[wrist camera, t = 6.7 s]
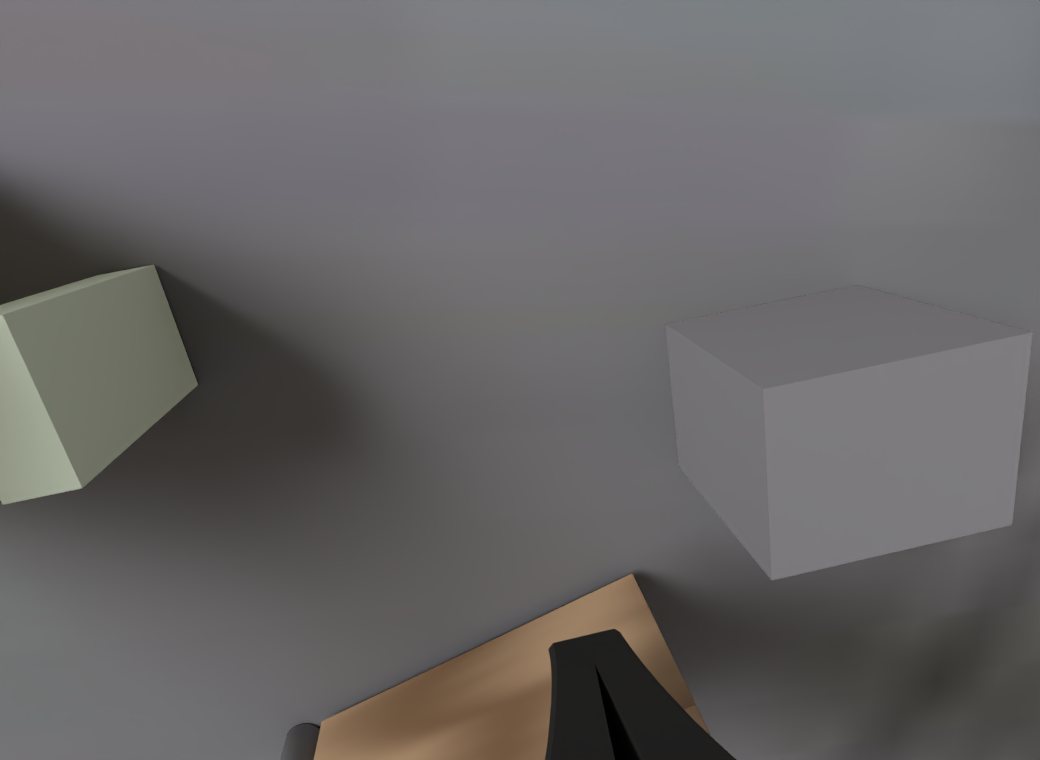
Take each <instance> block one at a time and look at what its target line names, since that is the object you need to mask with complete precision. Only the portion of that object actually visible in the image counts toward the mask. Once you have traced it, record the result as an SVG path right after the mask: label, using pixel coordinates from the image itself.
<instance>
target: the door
mask: <svg viewBox="0 0 1040 760" xmlns="http://www.w3.org/2000/svg"><path fill="white" fill-rule="evenodd" d="M610 629H616V630H618V631H619V632H621V634H622V636H623V637H624V639H625V640H626V641H627V643H628V644H629V646H630V647H631V648H632V650H633V651H634V652H635V654H636V655H637V656H638V658H639V659H640V660H641V661H642V663H643V664H644V665H645V666H646V667H647V669H648V670H649V671H650V672H651V674H652V675H653V676H654V677H655V678H656V679H657V681H658V682H659V683H660V684H661V685H662V686H663V687H664V689H665V690H666V691H667V692H668V693H669V694H670V695H671V696H672V697H673V698H674V699H675V700H676V701H677V703H678V704H679V705H680V706H681V707H682V708H683V709H684V710H685V711H686V712H687V713H688V714H689V715H690V716H691V717H692V718H693V719H694V720H695V721H696V722H697V723H698V724H699V725H700V726H701V727H702V728H703V729H704V730H705V731H706V732H707V733H708V734H709V735H710V733H709V731H708V729H707V727H706V725H705V723H704V721H703V719H702V716H701V714H700V712H699V710H698V708H697V706H696V704H695V702H694V700H693V698H692V696H691V694H690V692H689V690H688V688H687V685H686V683H685V681H684V679H683V677H682V675H681V673H680V671H679V669H678V667H677V665H676V663H675V661H674V659H673V657H672V654H671V652H670V650H669V648H668V646H667V644H666V642H665V640H664V638H663V636H662V634H661V632H660V630H659V628H658V625H657V623H656V621H655V619H654V617H653V615H652V613H651V611H650V609H649V607H648V605H647V603H646V601H645V599H644V597H643V595H642V592H641V590H640V588H639V586H638V584H637V582H636V580H635V578H634V576H633V574H630V575H628V576H626V577H623V578H621V579H619V580H617V581H615V582H613V583H611V584H609V585H607V586H605V587H602V588H600V589H598V590H596V591H594V592H592V593H590V594H588V595H586V596H584V597H581V598H579V599H577V600H575V601H573V602H571V603H569V604H567V605H565V606H563V607H561V608H558V609H556V610H554V611H552V612H550V613H548V614H546V615H544V616H542V617H540V618H537V619H535V620H533V621H531V622H529V623H527V624H525V625H523V626H521V627H519V628H516V629H514V630H512V631H510V632H508V633H506V634H504V635H502V636H500V637H498V638H496V639H493V640H491V641H489V642H487V643H485V644H483V645H481V646H479V647H477V648H475V649H472V650H470V651H468V652H466V653H464V654H462V655H460V656H458V657H456V658H454V659H451V660H449V661H447V662H445V663H443V664H441V665H439V666H437V667H435V668H433V669H431V670H428V671H426V672H424V673H422V674H420V675H418V676H416V677H414V678H412V679H410V680H407V681H405V682H403V683H401V684H399V685H397V686H395V687H393V688H391V689H389V690H386V691H384V692H382V693H380V694H378V695H376V696H374V697H372V698H370V699H368V700H365V701H363V702H361V703H359V704H357V705H355V706H353V707H351V708H349V709H347V710H345V711H342V712H340V713H338V714H336V715H334V716H332V717H330V718H328V719H326V720H324V721H322V722H321V727H320V732H319V737H318V741H317V746H316V751H315V756H314V760H545V756H546V749H547V742H548V732H549V721H550V710H551V687H552V678H551V662H550V655H549V650H548V649H549V648H550V646H551V645H552V644H553V643H555V642H559V641H563V640H568V639H572V638H576V637H580V636H585V635H589V634H593V633H597V632H601V631H606V630H610ZM710 736H711V735H710Z"/></svg>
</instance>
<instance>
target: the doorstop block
mask: <svg viewBox="0 0 1040 760" xmlns="http://www.w3.org/2000/svg"><path fill="white" fill-rule="evenodd" d="M665 329H666V339H667V350H668V360H669V370H670V381H671V391H672V401H673V412H674V422H675V432H676V443H677V453H678V463H679V468H680V469H681V470H682V472H683V473H684V474H685V475H686V476H687V478H688V479H689V480H690V481H691V483H692V484H693V485H694V486H695V487H696V489H697V490H698V491H699V492H700V494H701V495H702V496H703V497H704V498H705V500H706V501H707V502H708V503H709V505H710V506H711V507H712V508H713V509H714V511H715V512H716V513H717V514H718V516H719V517H720V518H721V519H722V520H723V522H724V523H725V524H726V525H727V527H728V528H729V529H730V530H731V531H732V533H733V534H734V535H735V536H736V538H737V539H738V540H739V541H740V542H741V544H742V545H743V546H744V547H745V549H746V550H747V551H748V552H749V553H750V555H751V556H752V557H753V558H754V560H755V561H756V562H757V563H758V564H759V566H760V567H761V568H762V569H763V571H764V572H765V573H766V574H767V575H768V577H769V578H770V579H771V580H777V579H781V578H785V577H790V576H794V575H798V574H802V573H807V572H811V571H815V570H820V569H824V568H828V567H833V566H837V565H841V564H846V563H850V562H854V561H859V560H863V559H867V558H872V557H876V556H880V555H885V554H889V553H893V552H897V551H902V550H906V549H910V548H915V547H919V546H923V545H928V544H932V543H936V542H941V541H945V540H949V539H954V538H958V537H962V536H967V535H971V534H975V533H980V532H984V531H988V530H992V529H997V528H1001V527H1005V526H1010V525H1012V522H1013V513H1014V503H1015V494H1016V484H1017V475H1018V465H1019V456H1020V446H1021V437H1022V428H1023V418H1024V409H1025V399H1026V390H1027V380H1028V371H1029V361H1030V352H1031V342H1032V333H1033V332H1029V331H1026V330H1022V329H1018V328H1014V327H1011V326H1007V325H1003V324H1000V323H996V322H992V321H989V320H985V319H981V318H977V317H974V316H970V315H966V314H963V313H959V312H955V311H951V310H948V309H944V308H940V307H937V306H933V305H929V304H926V303H922V302H918V301H914V300H911V299H907V298H903V297H900V296H896V295H892V294H889V293H885V292H881V291H877V290H874V289H870V288H866V287H863V286H859V285H854V286H849V287H844V288H839V289H834V290H829V291H825V292H820V293H815V294H810V295H805V296H800V297H795V298H790V299H785V300H780V301H775V302H770V303H765V304H760V305H755V306H750V307H745V308H740V309H736V310H731V311H726V312H721V313H716V314H711V315H706V316H701V317H696V318H691V319H686V320H681V321H676V322H671V323H666V324H665Z"/></svg>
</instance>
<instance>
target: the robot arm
mask: <svg viewBox="0 0 1040 760" xmlns="http://www.w3.org/2000/svg"><path fill="white" fill-rule="evenodd" d="M548 650H549V655H550V662H551V678H552V687H551V710H550V721H549V732H548V742H547V749H546V756H545V760H736V759H735V758H734V757H733V756H731V755H730V754H729V753H728V752H727V751H726V750H725V749H724V748H723V747H722V746H720V745H719V744H718V743H717V742H716V741H715V740H714V739H713V738H712V737H711V736H710V735H709V734H708V733H707V732H706V731H705V730H704V729H703V728H702V727H701V726H700V725H699V724H698V723H697V722H696V721H695V720H694V719H693V718H692V717H691V716H690V715H689V714H688V713H687V712H686V711H685V710H684V709H683V708H682V707H681V706H680V705H679V704H678V703H677V701H676V700H675V699H674V698H673V697H672V696H671V695H670V694H669V693H668V692H667V691H666V690H665V689H664V687H663V686H662V685H661V684H660V683H659V682H658V681H657V679H656V678H655V677H654V676H653V675H652V674H651V672H650V671H649V670H648V669H647V667H646V666H645V665H644V664H643V663H642V661H641V660H640V659H639V658H638V656H637V655H636V654H635V652H634V651H633V650H632V648H631V647H630V646H629V644H628V643H627V641H626V640H625V639H624V637H623V636H622V634H621V632H619V631H618V630H616V629H610V630H606V631H601V632H597V633H593V634H589V635H585V636H580V637H576V638H572V639H568V640H563V641H559V642H555V643H553V644H552V645H551V646H550V648H549V649H548Z"/></svg>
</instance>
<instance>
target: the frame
mask: <svg viewBox="0 0 1040 760" xmlns="http://www.w3.org/2000/svg"><path fill="white" fill-rule="evenodd" d="M197 385H198V383H197V380H196V378H195V375H194V372H193V369H192V367H191V364H190V361H189V359H188V356H187V353H186V350H185V348H184V345H183V342H182V339H181V337H180V334H179V331H178V329H177V326H176V323H175V320H174V318H173V315H172V312H171V309H170V307H169V304H168V301H167V299H166V296H165V293H164V290H163V288H162V285H161V282H160V279H159V277H158V274H157V271H156V269H155V266H154V265H149V266H144V267H139V268H133V269H128V270H123V271H117V272H112V273H107V274H101V275H96V276H93V277H90V278H87V279H83V280H80V281H77V282H74V283H70V284H67V285H64V286H60V287H57V288H54V289H51V290H47V291H44V292H41V293H38V294H34V295H31V296H28V297H25V298H21V299H18V300H15V301H12V302H8V303H5V304H2V305H0V500H1V502H2V504H3V505H4V504H9V503H14V502H18V501H23V500H28V499H33V498H38V497H43V496H47V495H52V494H57V493H62V492H67V491H72V490H77V489H81V488H83V487H84V486H85V485H87V484H88V483H89V482H90V481H91V480H92V479H93V478H94V477H96V476H97V475H98V474H99V473H100V472H101V471H102V470H103V469H105V468H106V467H107V466H108V465H109V464H110V463H111V462H112V461H113V460H115V459H116V458H117V457H118V456H119V455H120V454H121V453H122V452H124V451H125V450H126V449H127V448H128V447H129V446H130V445H131V444H133V443H134V442H135V441H136V440H137V439H138V438H139V437H140V436H141V435H143V434H144V433H145V432H146V431H147V430H148V429H149V428H150V427H152V426H153V425H154V424H155V423H156V422H157V421H158V420H159V419H161V418H162V417H163V416H164V415H165V414H166V413H167V412H168V411H169V410H171V409H172V408H173V407H174V406H175V405H176V404H177V403H178V402H180V401H181V400H182V399H183V398H184V397H185V396H186V395H187V394H188V393H190V392H191V391H192V390H193V389H194V388H195V387H196V386H197ZM319 732H320V729H319V728H318V727H316V726H314V725H311V724H300V725H297V726H295V727H293V728H292V729H290V731H289V732H288V734H287V737H286V741H285V745H284V749H283V752H282V756H281V760H314V756H315V751H316V746H317V741H318V737H319Z"/></svg>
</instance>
